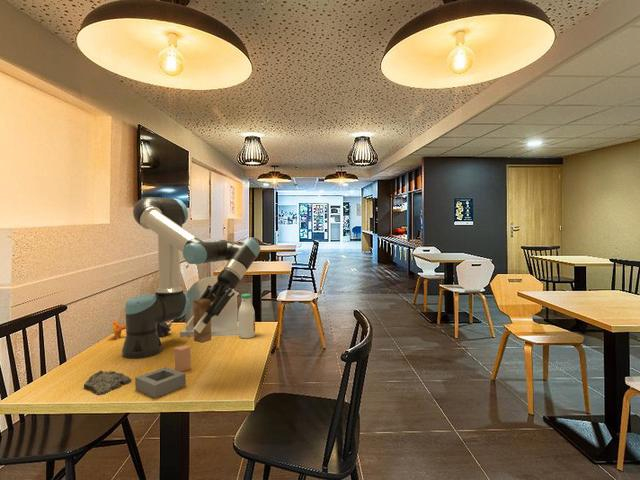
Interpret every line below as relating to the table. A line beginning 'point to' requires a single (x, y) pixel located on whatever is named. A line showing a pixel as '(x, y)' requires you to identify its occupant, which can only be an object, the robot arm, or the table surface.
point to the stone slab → (106, 382)
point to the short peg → (182, 358)
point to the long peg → (199, 310)
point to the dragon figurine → (161, 328)
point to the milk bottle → (246, 317)
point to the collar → (160, 382)
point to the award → (219, 324)
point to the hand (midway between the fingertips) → (192, 329)
